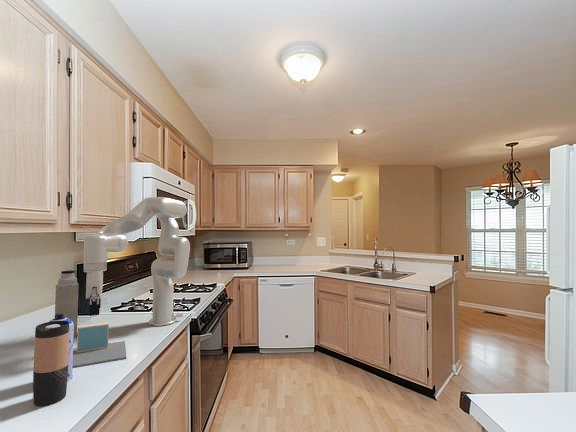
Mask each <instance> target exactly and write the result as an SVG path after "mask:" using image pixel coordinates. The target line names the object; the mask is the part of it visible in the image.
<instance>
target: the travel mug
mask: <svg viewBox="0 0 576 432" xmlns="http://www.w3.org/2000/svg"><path fill="white" fill-rule="evenodd" d="M33 348H34V350H33V367H32V368H33V369H32V370H33V371H32V373H33V374H32V377H33V379H32V381H33V382H32V386H33V387H32V390H33V391H32V393H33V394H32V397H33V398H32V399H33V401H32V402H33V403H32V404H33V405H34V406H36V407H45V406H46V407H47V406H50V405H54V404H57V403H59V402H60V401H61V402H62V400H64V399H65V398H66V396H67V388H68V387H67V386H68V382H67V376H68V358H69V322H68V321H52V322H49V321H47V322H43V323H40V324H37V325H36V326H35V331H34V347H33Z"/></svg>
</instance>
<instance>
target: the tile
mask: <svg viewBox="0 0 576 432" xmlns="http://www.w3.org/2000/svg"><path fill="white" fill-rule="evenodd" d="M109 328H110V322H109V321H107V322H106V321H105V322H98V323H97V322H96V323H89V324H81V325H77V336H76V337H77V338H76V340H77V341H76V348H77V353H78V352H85V351H91V350H97V349H104V348H108V343H109Z"/></svg>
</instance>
